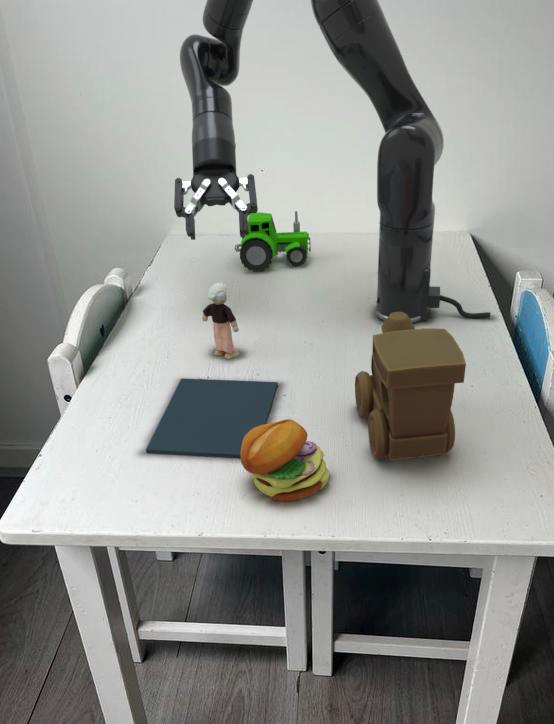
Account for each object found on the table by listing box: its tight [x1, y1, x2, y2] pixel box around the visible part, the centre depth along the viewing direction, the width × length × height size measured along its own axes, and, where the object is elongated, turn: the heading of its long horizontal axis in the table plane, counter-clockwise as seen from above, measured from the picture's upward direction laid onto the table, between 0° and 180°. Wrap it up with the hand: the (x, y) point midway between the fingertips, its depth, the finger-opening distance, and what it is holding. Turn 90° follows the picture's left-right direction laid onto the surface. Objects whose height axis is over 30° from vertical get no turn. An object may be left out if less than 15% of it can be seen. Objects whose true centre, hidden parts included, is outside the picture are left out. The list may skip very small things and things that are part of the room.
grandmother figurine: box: [201, 282, 241, 360], centre depth 125 cm, size 8×4×13 cm, turn 65°
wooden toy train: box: [354, 312, 467, 461], centre depth 102 cm, size 20×11×17 cm, turn 6°
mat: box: [145, 378, 279, 459], centre depth 112 cm, size 16×20×1 cm
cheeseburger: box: [240, 418, 330, 503], centre depth 97 cm, size 10×11×10 cm
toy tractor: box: [234, 211, 312, 273], centre depth 157 cm, size 11×16×10 cm
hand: (217, 236), depth 127 cm, fingers open, 8 cm apart
